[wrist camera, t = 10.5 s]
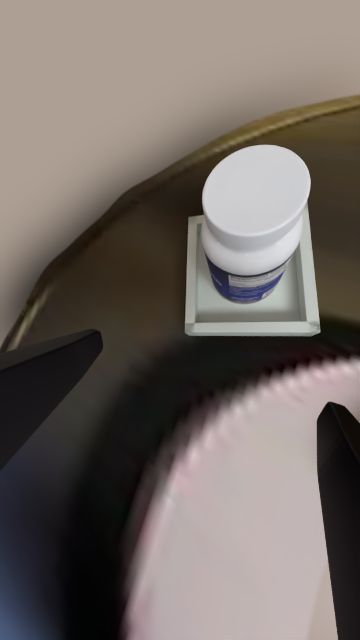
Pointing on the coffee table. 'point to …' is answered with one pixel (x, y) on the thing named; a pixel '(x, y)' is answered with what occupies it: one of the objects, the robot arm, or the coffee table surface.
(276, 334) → the tray
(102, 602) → the coffee table surface
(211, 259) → the pill bottle
